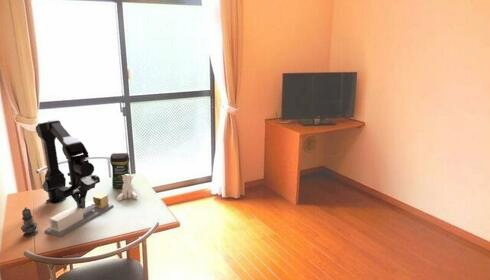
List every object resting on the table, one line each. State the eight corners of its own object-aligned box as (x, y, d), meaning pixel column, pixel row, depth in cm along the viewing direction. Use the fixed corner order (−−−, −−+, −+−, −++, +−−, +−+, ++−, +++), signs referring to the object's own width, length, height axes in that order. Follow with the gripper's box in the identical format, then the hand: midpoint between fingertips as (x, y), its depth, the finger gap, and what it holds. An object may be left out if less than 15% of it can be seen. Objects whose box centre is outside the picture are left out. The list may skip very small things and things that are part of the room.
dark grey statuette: (26, 230, 145) (21, 204, 142) (41, 229, 146) (36, 203, 142) (19, 237, 140) (13, 210, 136) (34, 237, 140) (29, 210, 137)
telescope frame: (44, 232, 144) (42, 219, 142) (99, 203, 169) (97, 191, 168) (60, 237, 140) (58, 223, 139) (113, 206, 166) (112, 195, 164)
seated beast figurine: (117, 201, 171) (114, 178, 168) (119, 193, 180) (116, 172, 176) (137, 199, 174) (135, 177, 170) (138, 192, 182) (136, 170, 178)
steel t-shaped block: (57, 224, 146) (55, 207, 143) (90, 207, 161) (88, 191, 158) (63, 226, 145) (60, 208, 142) (95, 208, 159) (93, 192, 157)
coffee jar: (111, 189, 185) (107, 156, 179) (114, 183, 192) (111, 151, 187) (130, 188, 186) (127, 155, 181) (132, 182, 193) (129, 150, 188)
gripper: (71, 181, 138) (76, 216, 142) (107, 166, 154) (110, 198, 159) (52, 176, 142) (57, 211, 147) (88, 162, 159) (92, 193, 163)
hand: (81, 203), depth 154 cm, fingers closed on steel t-shaped block, 2 cm apart
